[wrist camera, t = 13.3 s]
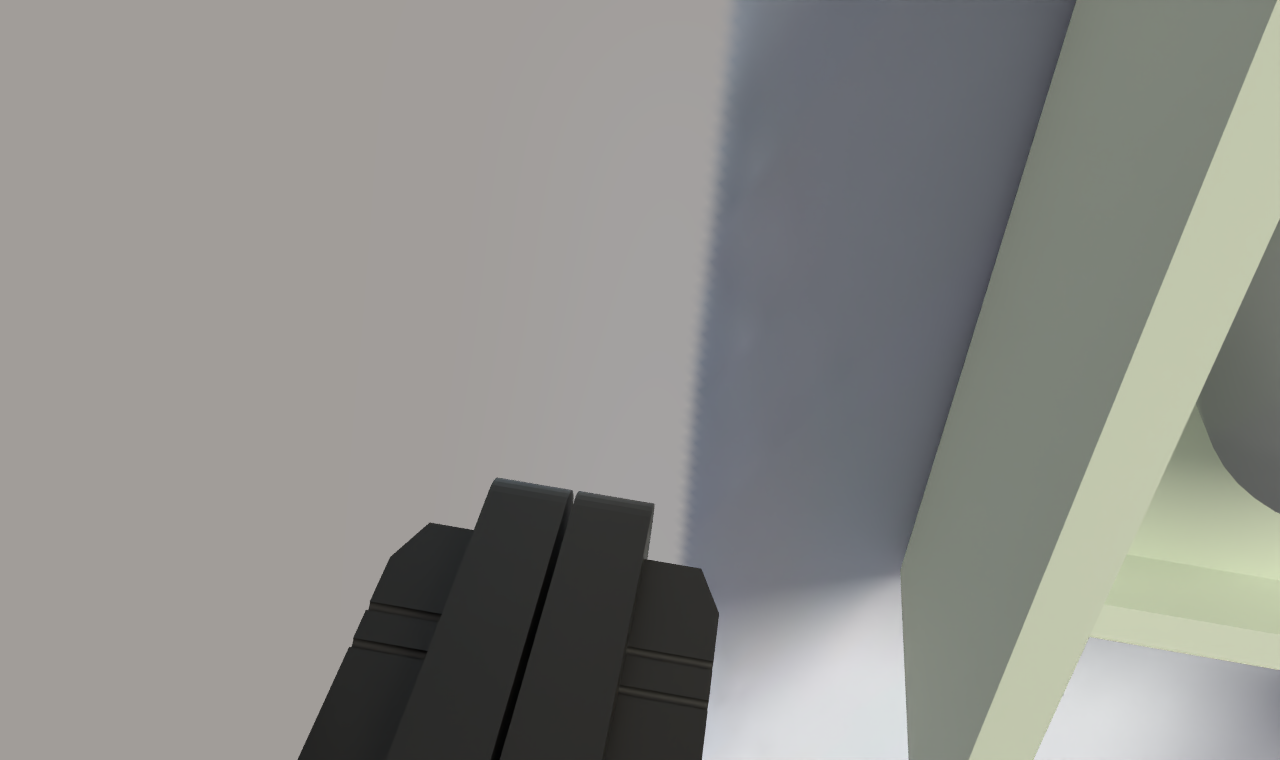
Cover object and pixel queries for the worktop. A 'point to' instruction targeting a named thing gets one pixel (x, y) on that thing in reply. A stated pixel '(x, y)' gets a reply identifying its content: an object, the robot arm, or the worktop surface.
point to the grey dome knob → (1250, 386)
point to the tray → (1103, 387)
